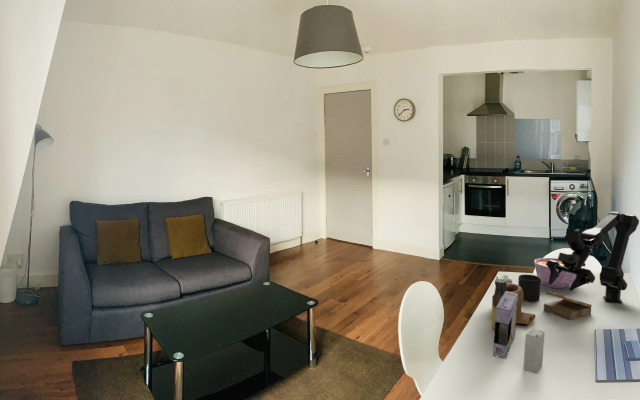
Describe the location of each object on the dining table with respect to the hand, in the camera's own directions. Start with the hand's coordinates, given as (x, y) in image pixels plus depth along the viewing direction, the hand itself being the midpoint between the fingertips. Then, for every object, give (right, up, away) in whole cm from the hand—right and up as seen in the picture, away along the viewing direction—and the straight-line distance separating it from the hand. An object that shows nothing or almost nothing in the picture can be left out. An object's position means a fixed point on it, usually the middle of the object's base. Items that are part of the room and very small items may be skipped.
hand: (559, 287), depth 183 cm
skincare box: (-31, -18, -42) cm, 55 cm away
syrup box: (-20, -11, +8) cm, 24 cm away
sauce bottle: (-30, -14, -14) cm, 36 cm away
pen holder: (-3, -10, +21) cm, 23 cm away
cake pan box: (-34, -16, -27) cm, 46 cm away
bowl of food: (+19, -7, +39) cm, 43 cm away
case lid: (+5, -6, +3) cm, 9 cm away
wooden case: (+5, -11, +4) cm, 13 cm away
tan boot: (-21, -13, -4) cm, 25 cm away
